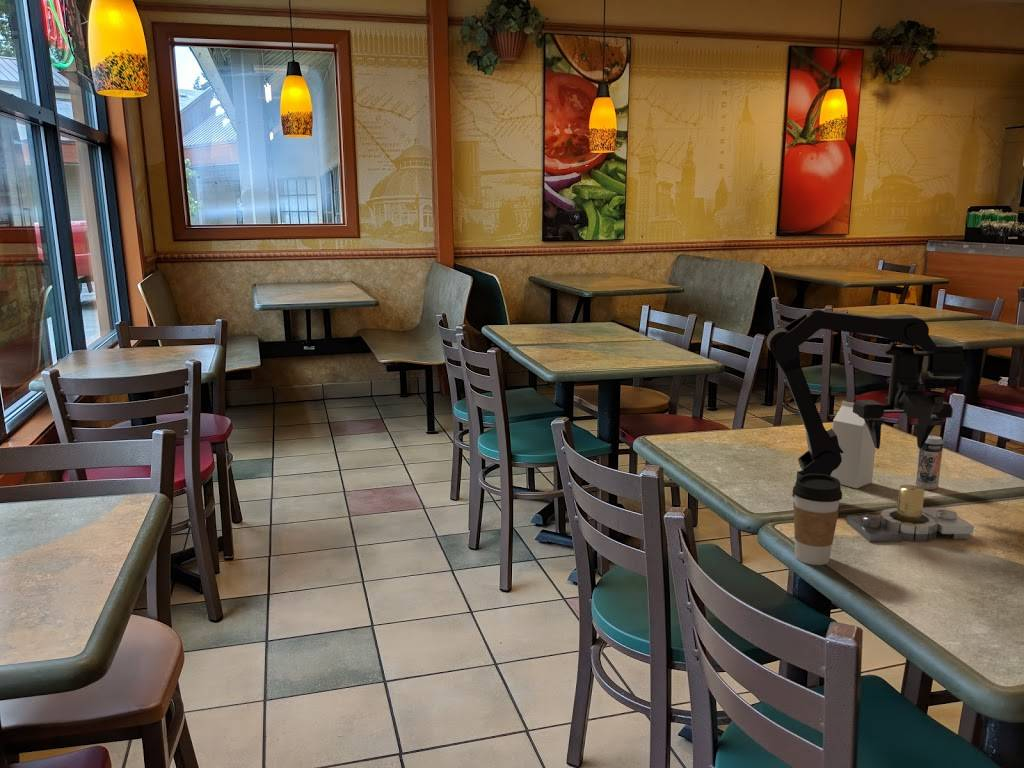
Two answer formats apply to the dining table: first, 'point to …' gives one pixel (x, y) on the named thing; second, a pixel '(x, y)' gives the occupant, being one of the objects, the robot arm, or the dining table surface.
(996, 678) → the dining table surface
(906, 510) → the pin
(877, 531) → the lower link
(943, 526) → the upper link
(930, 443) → the beer can
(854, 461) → the milk carton
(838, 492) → the coffee cup
